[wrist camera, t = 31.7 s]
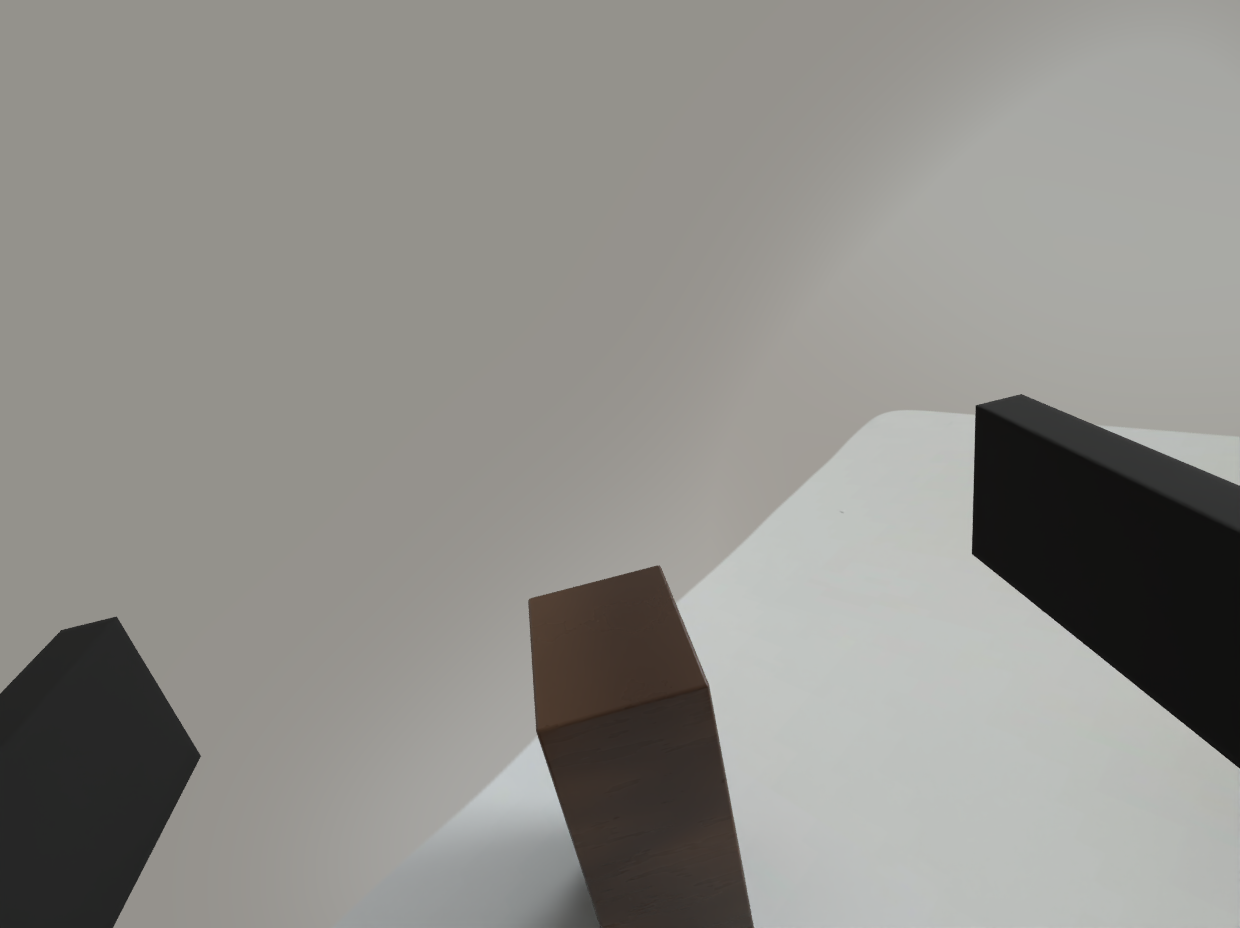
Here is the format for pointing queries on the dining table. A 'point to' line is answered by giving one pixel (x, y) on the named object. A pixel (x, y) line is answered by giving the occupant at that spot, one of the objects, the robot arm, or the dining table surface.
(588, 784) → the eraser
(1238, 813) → the dining table surface
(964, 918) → the dining table surface
